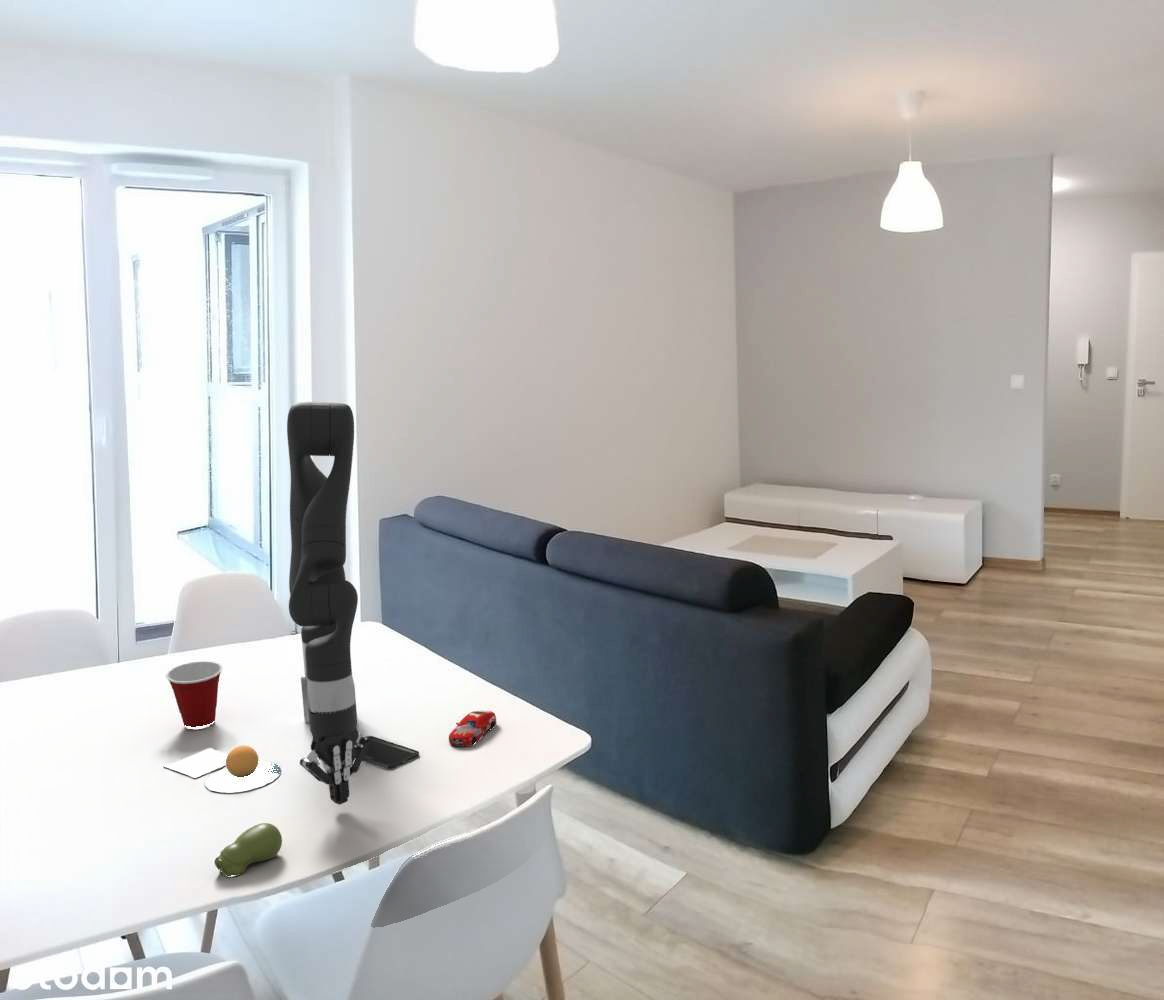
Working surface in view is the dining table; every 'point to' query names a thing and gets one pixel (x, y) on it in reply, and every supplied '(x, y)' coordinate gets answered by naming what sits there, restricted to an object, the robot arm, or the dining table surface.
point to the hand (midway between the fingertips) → (340, 802)
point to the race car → (472, 728)
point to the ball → (242, 761)
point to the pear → (250, 849)
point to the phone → (388, 753)
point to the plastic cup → (196, 691)
